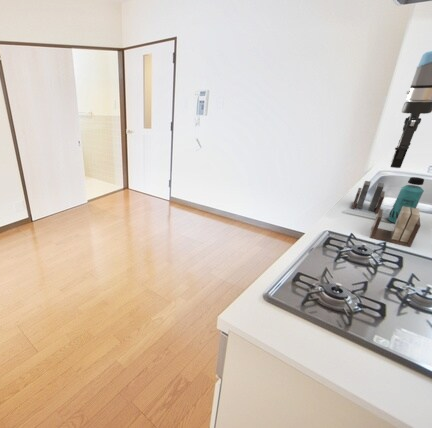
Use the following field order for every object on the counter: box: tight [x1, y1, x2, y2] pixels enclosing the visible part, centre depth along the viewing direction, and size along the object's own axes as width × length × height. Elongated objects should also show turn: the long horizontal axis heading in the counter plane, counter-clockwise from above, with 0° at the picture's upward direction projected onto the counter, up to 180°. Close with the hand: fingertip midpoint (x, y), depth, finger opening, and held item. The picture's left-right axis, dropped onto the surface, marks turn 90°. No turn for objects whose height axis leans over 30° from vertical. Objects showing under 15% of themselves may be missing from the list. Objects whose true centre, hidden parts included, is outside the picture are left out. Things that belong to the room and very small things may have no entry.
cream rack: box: [369, 206, 422, 248], centre depth 104 cm, size 11×9×12 cm
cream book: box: [390, 134, 403, 169], centre depth 105 cm, size 2×8×11 cm, turn 136°
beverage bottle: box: [388, 176, 425, 224], centre depth 111 cm, size 6×7×20 cm
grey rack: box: [351, 180, 386, 215], centre depth 125 cm, size 9×9×13 cm
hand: (395, 164), depth 107 cm, fingers closed on cream book, 8 cm apart
